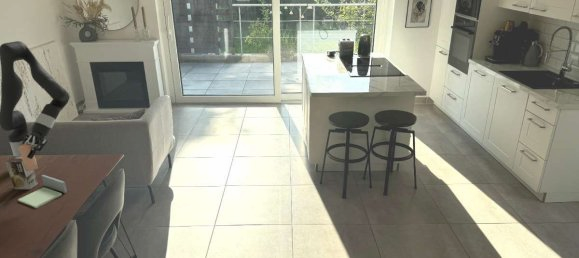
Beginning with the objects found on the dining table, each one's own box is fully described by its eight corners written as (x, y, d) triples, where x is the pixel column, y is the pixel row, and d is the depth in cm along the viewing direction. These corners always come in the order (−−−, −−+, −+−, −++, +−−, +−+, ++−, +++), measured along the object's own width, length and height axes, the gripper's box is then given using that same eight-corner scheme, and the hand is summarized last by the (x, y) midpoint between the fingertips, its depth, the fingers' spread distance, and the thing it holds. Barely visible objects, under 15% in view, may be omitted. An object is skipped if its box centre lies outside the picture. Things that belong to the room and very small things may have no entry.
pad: (18, 201, 191) (18, 199, 191) (44, 188, 202) (43, 187, 202) (36, 208, 185) (35, 206, 185) (61, 194, 196) (61, 193, 196)
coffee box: (38, 183, 207) (30, 156, 201) (30, 189, 201) (21, 162, 195) (22, 182, 208) (14, 155, 202) (13, 189, 202) (4, 161, 196)
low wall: (44, 185, 205) (41, 175, 202) (46, 184, 206) (43, 174, 203) (65, 193, 198) (62, 182, 195) (67, 191, 199) (64, 181, 196)
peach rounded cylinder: (23, 169, 186) (15, 147, 182) (33, 165, 191) (26, 142, 186) (29, 171, 184) (22, 149, 180) (40, 167, 188) (33, 144, 184)
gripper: (27, 119, 189) (9, 151, 184) (46, 123, 183) (27, 157, 178) (41, 125, 195) (23, 156, 190) (59, 130, 189) (42, 162, 184)
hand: (25, 156), depth 184 cm, fingers closed on peach rounded cylinder, 5 cm apart
